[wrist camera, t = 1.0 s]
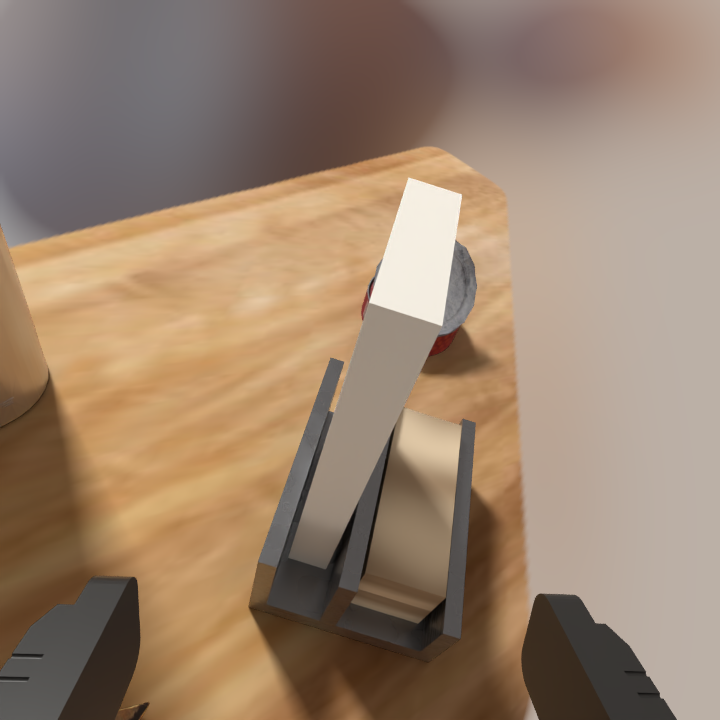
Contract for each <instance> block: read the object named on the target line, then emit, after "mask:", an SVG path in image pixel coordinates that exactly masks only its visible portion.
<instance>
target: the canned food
mask: <svg viewBox="0 0 720 720" xmlns="http://www.w3.org/2000/svg"><path fill="white" fill-rule="evenodd" d="M382 260H383V259H382ZM382 260H381V262H380V263H379V264H378V266H377V269H376V274H375V276H374V277H373V278H372V279H371V281H370V283H369V285H368V289H367V292H366V296H365V299H364V302H363V305H362V311H361V314H362V320H364V317H365V314H366V310H367V307H368V304H369V301H370V298H371V295H372V292H373V288H374V285H375V282H376V279H377V276H378V273H379V269H380V266H381V263H382ZM476 289H477V283H476V277H475V266H474V263H473V261H472V259H471V257H470V255H469V253H468V251H467V249H466V247H464V246H463V245H461V244H460V243H458V242H457V241H456V240H455V245H454V252H453V258H452V265H451V272H450V278H449V285H448V292H447V298H446V305H445V311H444V318H443V325H442V328H441V330H440V332H439V334H438V336H437V338H436V340H435V342H434V344H433V346H432V349H431V351H430V353H429V355H428V356H432V355H436V354H438V353H440V352H442V351H444V350H445V349H446V348H448V347H449V345H450V344H451V342H452V341H453V339H454V337H455V335H456V333H457V331H458V329H459V327H460V325H461V324H462V323H464V322H465V320H466V318H467V316H468V315H469V313H470V311H471V310H472V308H473V306H474V300H475V294H476Z"/></svg>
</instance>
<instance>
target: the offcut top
mask: <svg viewBox="0 0 720 720" xmlns="http://www.w3.org/2000/svg"><path fill="white" fill-rule="evenodd" d="M461 428H462V426H461V425H458V424H455V423H452V422H449V421H445V420H442V419H439V418H436V417H433V416H430V415H426V414H423V413H420V412H417V411H414V410H411V409H407V408H404V407H403V409H402V411H401V413H400V415H399V418H398V420H397V422H396V424H395V426H394V428H393V430H392V432H391V435H390V440H389V445H388V450H387V454H386V459H385V464H384V469H383V473H382V478H381V483H380V488H379V492H378V497H377V502H376V507H375V511H374V516H373V521H372V526H371V530H370V535H369V540H368V545H367V550H366V554H365V559H364V564H363V569H362V573H361V578H360V583H359V588H358V589H360V590H363V591H367V592H370V593H373V594H376V595H380V596H383V597H386V598H389V599H393V600H396V601H399V602H402V603H406V604H409V605H412V606H415V607H419V608H422V609H425V610H428V611H432V610H433V609H434V608H435V607H436V606H437V605H438V604H440V603H441V602H442V601H443V600H444V599H445V598H446V590H447V579H448V568H449V557H450V547H451V536H452V525H453V514H454V503H455V493H456V482H457V471H458V460H459V449H460V438H461Z"/></svg>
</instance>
